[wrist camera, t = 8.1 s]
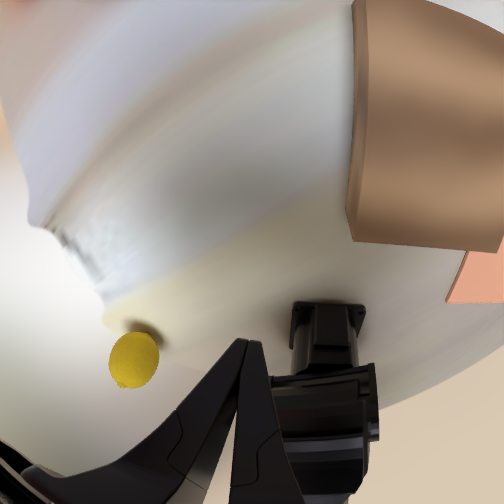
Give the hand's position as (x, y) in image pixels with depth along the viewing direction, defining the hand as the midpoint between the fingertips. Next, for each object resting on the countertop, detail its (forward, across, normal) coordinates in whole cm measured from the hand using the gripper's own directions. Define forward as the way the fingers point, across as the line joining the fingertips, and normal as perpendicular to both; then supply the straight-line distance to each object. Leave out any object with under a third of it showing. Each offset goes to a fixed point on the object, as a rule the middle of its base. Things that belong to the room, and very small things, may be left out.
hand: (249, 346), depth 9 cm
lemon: (+12, +15, +18) cm, 26 cm away
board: (+12, -10, -7) cm, 17 cm away
